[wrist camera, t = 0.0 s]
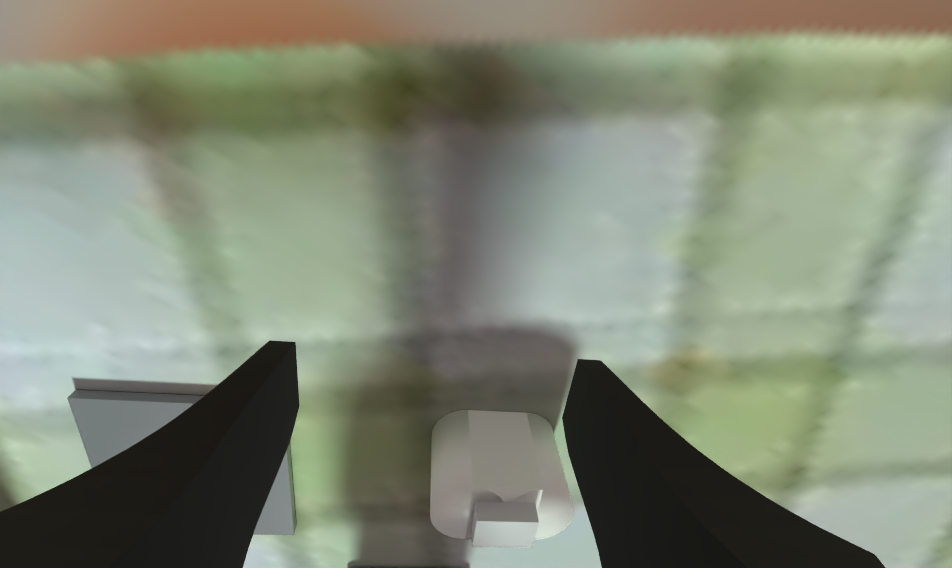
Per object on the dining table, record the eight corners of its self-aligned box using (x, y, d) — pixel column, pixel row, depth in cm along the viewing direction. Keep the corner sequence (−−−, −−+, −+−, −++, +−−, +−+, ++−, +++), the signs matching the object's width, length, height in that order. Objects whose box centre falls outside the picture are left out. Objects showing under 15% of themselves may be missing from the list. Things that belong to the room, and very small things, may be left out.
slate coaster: (296, 526, 30) (293, 535, 30) (119, 522, 29) (113, 532, 29) (286, 399, 26) (282, 407, 25) (75, 389, 25) (67, 398, 24)
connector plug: (546, 460, 29) (570, 560, 24) (429, 456, 28) (426, 558, 23) (558, 414, 27) (587, 510, 22) (434, 408, 27) (432, 506, 21)
